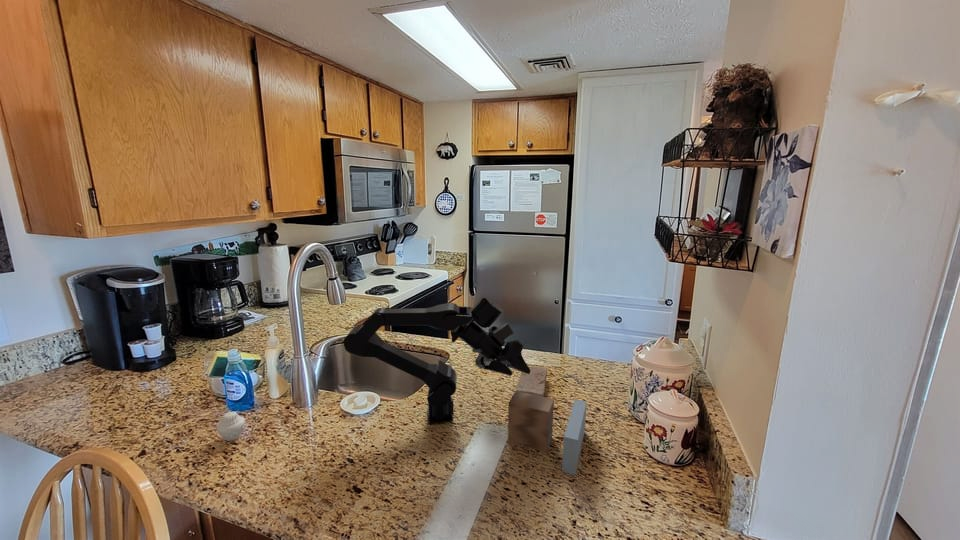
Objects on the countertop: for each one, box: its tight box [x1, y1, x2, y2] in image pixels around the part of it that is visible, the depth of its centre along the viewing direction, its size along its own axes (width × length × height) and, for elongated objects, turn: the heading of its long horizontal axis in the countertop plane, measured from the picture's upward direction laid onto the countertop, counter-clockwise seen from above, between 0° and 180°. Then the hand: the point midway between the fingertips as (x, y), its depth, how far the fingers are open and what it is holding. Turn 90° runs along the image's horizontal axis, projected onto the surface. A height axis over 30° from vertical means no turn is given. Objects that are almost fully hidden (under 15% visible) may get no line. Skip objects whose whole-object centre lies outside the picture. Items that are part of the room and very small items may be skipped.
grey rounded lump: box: [216, 411, 246, 442], centre depth 96 cm, size 6×6×7 cm
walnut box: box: [507, 390, 555, 453], centre depth 95 cm, size 10×6×11 cm, turn 68°
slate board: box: [561, 399, 588, 476], centre depth 91 cm, size 3×16×9 cm, turn 158°
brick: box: [515, 365, 548, 397], centre depth 118 cm, size 17×8×5 cm, turn 166°
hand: (520, 373), depth 104 cm, fingers open, 9 cm apart
